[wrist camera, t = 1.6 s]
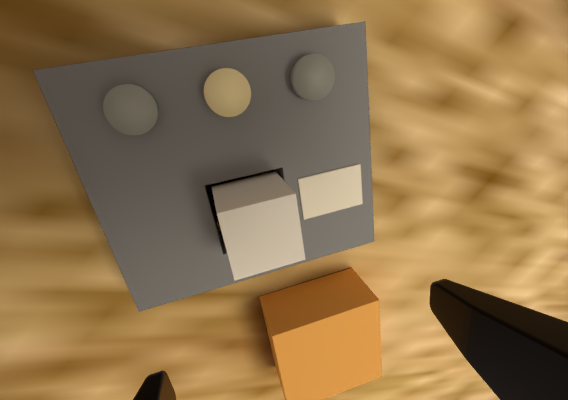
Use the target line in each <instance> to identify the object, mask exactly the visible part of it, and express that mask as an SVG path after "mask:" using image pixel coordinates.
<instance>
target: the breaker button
mask: <svg viewBox="0 0 568 400" xmlns="http://www.w3.org/2000/svg"><path fill="white" fill-rule="evenodd" d="M212 192H213V197H214V202H215V207H216V212H217V216H218V220H219V224H220V228H221V231H222V235H223V239H224V243H225V246H226V250H227V254H228V258H229V262H230V265H231V269H232V273H233V277H234V280H239V279H242V278H246V277H249V276H252V275H256V274H259V273H262V272H266V271H269V270H272V269H276V268H279V267H283V266H286V265H289V264H293V263H296V262H299V261H303V260H306V259H305V252H304V245H303V239H302V232H301V225H300V218H299V212H298V205H297V198H296V193H295V192H294V191H293V190H292V189H291V188H290V187H289V186H288V184H287V183H286V182H285V181H284V180H283V179H282V178H281V177H280V176H279V175H278V174H277V173H276V172H272V173H268V174H263V175H259V176H255V177H251V178H246V179H242V180H238V181H233V182H229V183H225V184H221V185H216V186H212Z"/></svg>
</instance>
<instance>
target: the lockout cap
mask: <svg viewBox="0 0 568 400" xmlns="http://www.w3.org/2000/svg"><path fill="white" fill-rule="evenodd" d="M260 302H261V306H262V310H263V315H264V319H265V323H266V328H267V332H268V336H269V340H270V345H271V349H272V353H273V358H274V362H275V366H276V370H277V373H278V377H279V380H280V383H281V387H282V390H283V393H284V397H285V400H323V399H325V398H328V397H330V396H333V395H336V394H338V393H341V392H343V391H346V390H348V389H351V388H353V387H356V386H358V385H361V384H363V383H366V382H369V381H371V380H374V379H376V378H379V377H381V376H382V362H381V335H380V307H379V299H378V298H377V297H376V296H375V295H374V293H373V292H372V291H371V290H370V289H369V287H368V286H367V285H366V284H365V283H364V282H363V280H362V279H361V278H360V277H359V276H358V275H357V273H356V272H355V271H354V270H353V269H352V268H350V269H346V270H343V271H340V272H337V273H334V274H330V275H327V276H324V277H321V278H318V279H314V280H311V281H308V282H305V283H302V284H298V285H295V286H292V287H289V288H286V289H282V290H279V291H276V292H273V293H270V294H266V295H263V296H260Z"/></svg>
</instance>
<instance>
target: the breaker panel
mask: <svg viewBox="0 0 568 400" xmlns="http://www.w3.org/2000/svg"><path fill="white" fill-rule="evenodd" d="M33 72H34V75H35V77H36V79H37V81H38V84H39V86H40V88H41V90H42V93H43V95H44V97H45V100H46V102H47V104H48V106H49V109H50V111H51V113H52V116H53V118H54V120H55V122H56V125H57V127H58V129H59V131H60V134H61V136H62V138H63V141H64V143H65V145H66V147H67V150H68V152H69V154H70V156H71V159H72V161H73V163H74V166H75V168H76V170H77V172H78V175H79V177H80V179H81V181H82V184H83V186H84V188H85V191H86V193H87V195H88V197H89V200H90V202H91V204H92V207H93V209H94V211H95V213H96V216H97V218H98V220H99V222H100V225H101V227H102V229H103V232H104V234H105V236H106V238H107V241H108V243H109V245H110V247H111V250H112V252H113V254H114V257H115V259H116V261H117V263H118V266H119V268H120V270H121V272H122V275H123V277H124V279H125V282H126V284H127V286H128V288H129V291H130V293H131V295H132V297H133V300H134V302H135V304H136V307H137V309H138V311H139V312H140V311H143V310H146V309H150V308H153V307H156V306H160V305H163V304H166V303H170V302H173V301H176V300H180V299H183V298H186V297H190V296H193V295H196V294H200V293H203V292H206V291H210V290H213V289H216V288H220V287H223V286H226V285H230V284H233V283H237V282H240V281H243V280H247V279H250V278H253V277H257V276H260V275H263V274H267V273H270V272H273V271H277V270H280V269H283V268H287V267H290V266H293V265H297V264H300V263H303V262H307V261H310V260H313V259H317V258H320V257H323V256H327V255H330V254H334V253H337V252H340V251H344V250H347V249H350V248H354V247H357V246H360V245H364V244H367V243H370V242H374V220H373V196H372V171H371V146H370V122H369V97H368V72H367V48H366V23H365V22H358V23H351V24H345V25H338V26H331V27H324V28H317V29H310V30H303V31H297V32H290V33H283V34H276V35H269V36H262V37H256V38H249V39H242V40H235V41H228V42H221V43H215V44H208V45H201V46H194V47H187V48H180V49H174V50H167V51H160V52H153V53H146V54H139V55H133V56H126V57H119V58H112V59H105V60H98V61H92V62H85V63H78V64H71V65H64V66H57V67H51V68H44V69H37V70H33ZM269 170H274V172H276V173H277V174H278V175H279V176H280V177H281V178H282V179H283V180H284V181H285V182H286V183H287V184H288V186H289V187H290V188H291V189H292V190H293V191H294V192H295V193H296V198H297V205H298V212H299V218H300V225H301V232H302V239H303V245H304V252H305V259H306V260H303V261H299V262H296V263H293V264H289V265H286V266H283V267H279V268H276V269H272V270H269V271H266V272H262V273H259V274H256V275H252V276H249V277H246V278H242V279H239V280H234V277H233V273H232V269H231V265H230V262H229V258H228V254H227V250H226V246H225V243H224V239H223V235H222V233H220V234H219V231H218V227H217V224H216V220H215V216H214V212H213V209H212V205H211V201H210V198H209V194H208V190H207V187H206V185H209V184H214V183H218V182H222V181H226V180H231V179H235V178H239V177H244V176H248V175H252V174H256V173H261V172H265V171H269Z"/></svg>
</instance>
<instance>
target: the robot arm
mask: <svg viewBox="0 0 568 400" xmlns="http://www.w3.org/2000/svg"><path fill="white" fill-rule="evenodd" d="M430 307H431V310H432V312H433V313H434V315H435V316H436V318H437V319H438V320H439V322H440V323H441V325H442V326H443V328H444V329H445V330H446V332H447V333H448V335H449V336H450V337H451V339H452V340H453V342H454V343H455V345H456V346H457V347H458V349H459V350H460V352H461V353H462V354H463V356H464V357H465V358H466V360H467V361H468V362H469V363H470V364H471V366H472V367H473V368H474V369H475V370H476V372H477V373H478V374H479V375H480V376H481V377H482V379H483V380H484V381H485V382H486V383H487V385H488V386H489V387H490V388H491V389H492V390H493V392H494V393H495V394H496V395H497V396H498V397H499V399H500V400H568V322H566V321H563V320H560V319H557V318H555V317H552V316H549V315H546V314H543V313H540V312H538V311H535V310H532V309H529V308H526V307H523V306H521V305H518V304H515V303H512V302H509V301H506V300H504V299H501V298H498V297H495V296H492V295H489V294H487V293H484V292H481V291H478V290H475V289H472V288H470V287H467V286H464V285H461V284H458V283H455V282H453V281H450V280H447V279H442V280H439V281H436V282H433V283H432V284H431V288H430ZM133 400H176V395H175V391H174V389H173V387H172V384H171V382H170V380H169V377H168V375H167V373H166V372H165V371H160V372H157V373H154V374H151V375H149V376H148V377H147V378H146V379H145V381H144V382H143V384H142V386H141V387H140V389H139V391H138V392H137V394H136V396H135V397H134V399H133Z"/></svg>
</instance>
